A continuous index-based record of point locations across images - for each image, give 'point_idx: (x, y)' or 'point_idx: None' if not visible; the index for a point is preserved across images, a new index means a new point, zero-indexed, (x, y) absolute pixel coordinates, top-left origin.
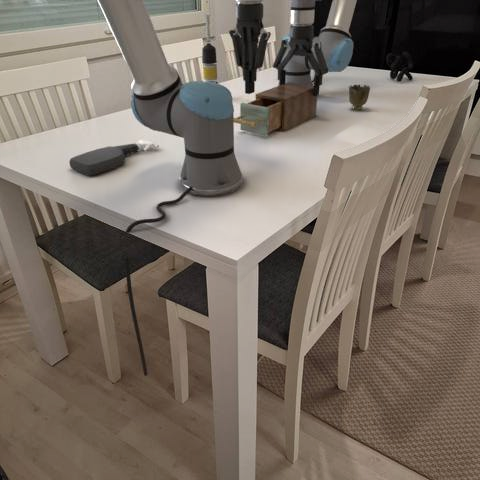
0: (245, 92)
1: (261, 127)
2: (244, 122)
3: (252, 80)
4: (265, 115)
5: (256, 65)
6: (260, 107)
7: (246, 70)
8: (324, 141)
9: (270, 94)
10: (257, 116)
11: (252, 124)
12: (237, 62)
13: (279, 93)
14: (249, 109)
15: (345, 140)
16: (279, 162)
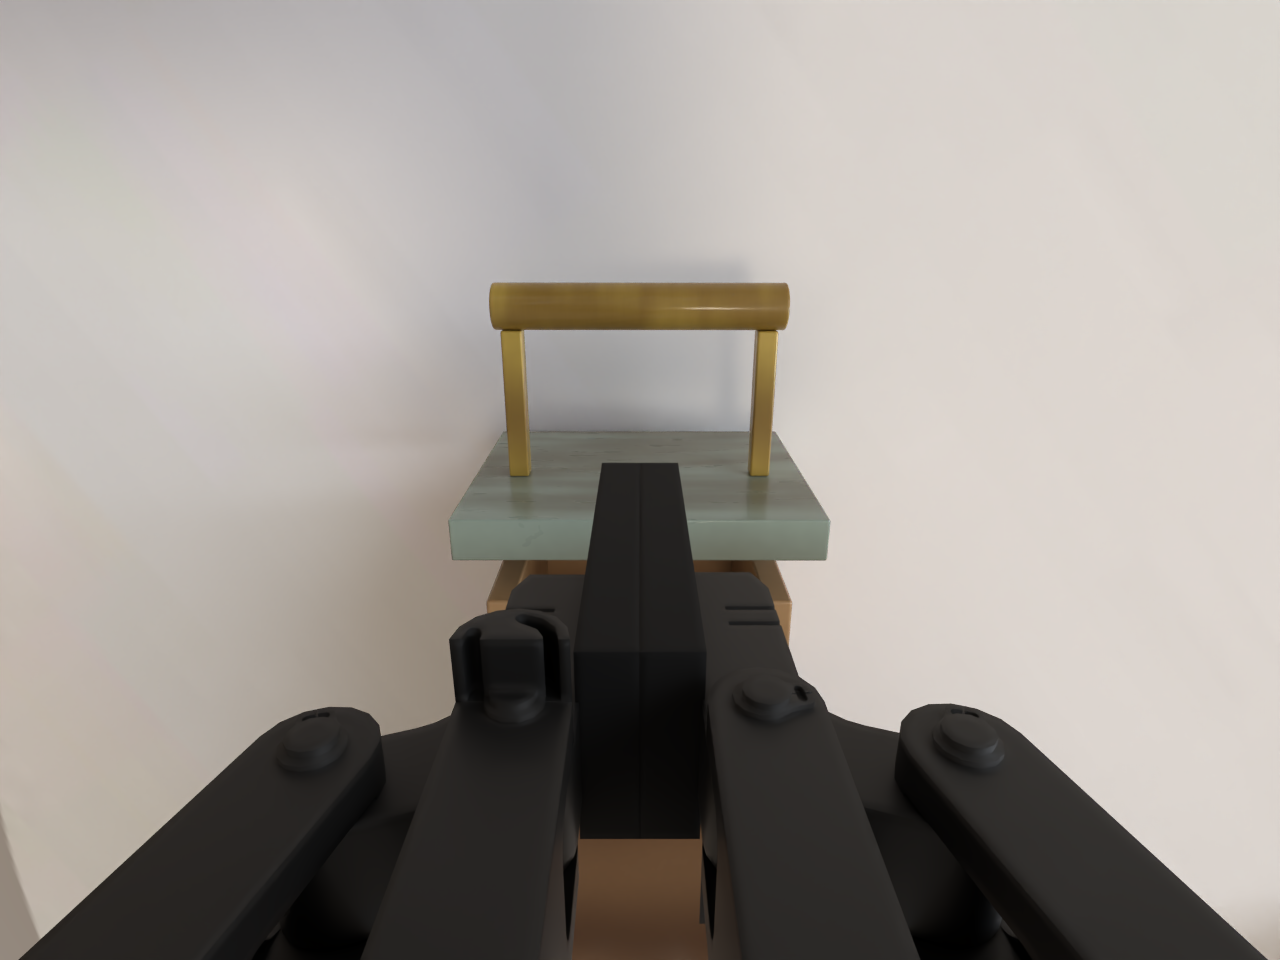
0: (672, 467)
1: (549, 449)
2: (608, 286)
3: (543, 589)
4: (485, 491)
5: (284, 773)
6: (538, 518)
7: (652, 648)
8: (150, 609)
9: (684, 867)
10: (587, 480)
11: (501, 283)
12: (1034, 778)
13: (627, 929)
14: (692, 502)
15: (66, 696)
16: (52, 14)
